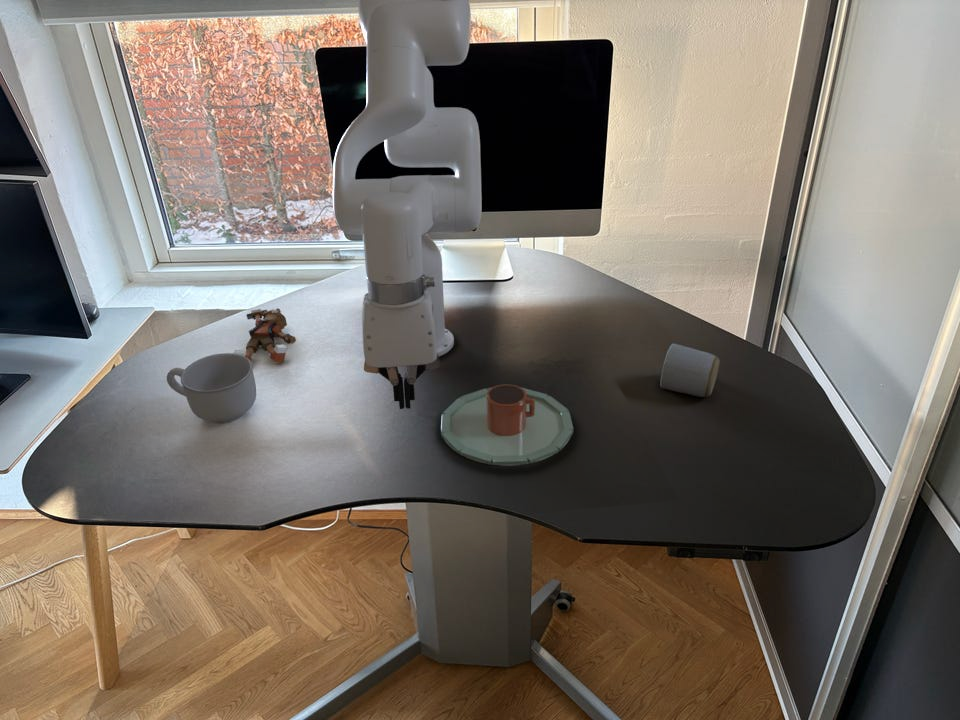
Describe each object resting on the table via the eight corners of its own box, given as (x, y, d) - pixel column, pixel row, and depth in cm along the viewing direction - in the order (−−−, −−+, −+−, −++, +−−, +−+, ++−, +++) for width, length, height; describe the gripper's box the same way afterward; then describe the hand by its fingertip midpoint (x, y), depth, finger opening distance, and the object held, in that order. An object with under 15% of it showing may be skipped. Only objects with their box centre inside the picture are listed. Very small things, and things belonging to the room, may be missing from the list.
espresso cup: (489, 437, 107) (488, 406, 104) (484, 415, 112) (484, 385, 110) (537, 433, 108) (538, 403, 105) (530, 411, 113) (531, 381, 110)
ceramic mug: (708, 407, 115) (715, 365, 112) (657, 396, 118) (662, 354, 115) (719, 377, 124) (726, 337, 120) (671, 367, 127) (677, 328, 123)
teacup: (273, 400, 119) (265, 358, 115) (233, 437, 110) (223, 392, 106) (203, 387, 123) (193, 346, 119) (159, 421, 114) (147, 378, 110)
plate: (415, 447, 107) (415, 437, 106) (480, 385, 122) (480, 376, 122) (538, 488, 99) (538, 477, 98) (591, 415, 114) (592, 405, 113)
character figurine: (215, 352, 127) (246, 299, 142) (221, 374, 130) (251, 320, 145) (282, 353, 127) (306, 299, 141) (287, 375, 130) (310, 320, 144)
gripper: (449, 274, 101) (454, 387, 109) (341, 280, 99) (354, 394, 108) (453, 295, 94) (458, 414, 103) (337, 301, 93) (352, 421, 102)
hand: (404, 403), depth 105 cm, fingers closed
